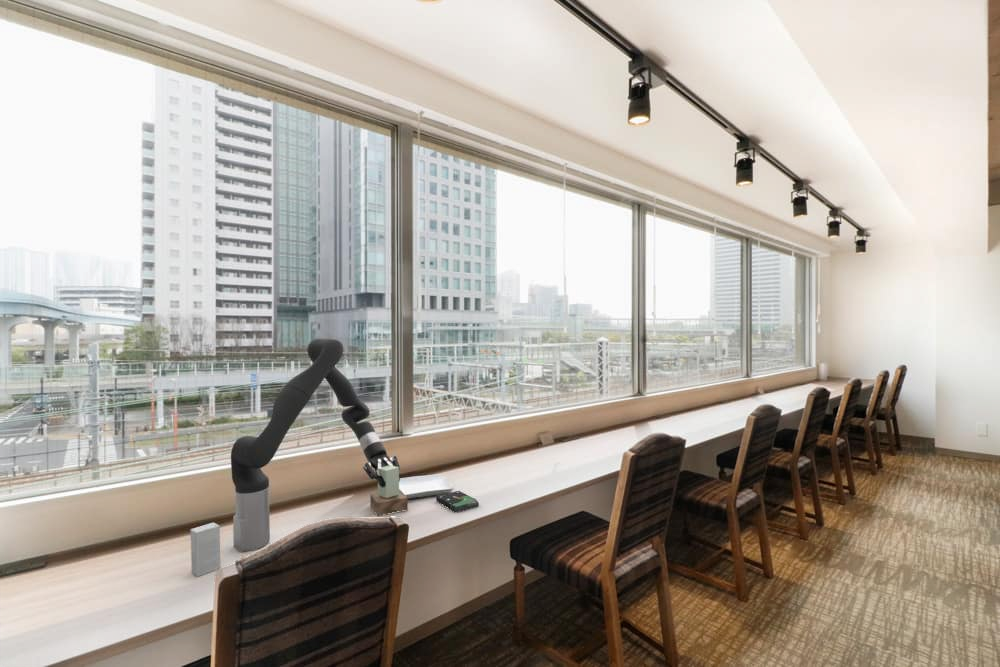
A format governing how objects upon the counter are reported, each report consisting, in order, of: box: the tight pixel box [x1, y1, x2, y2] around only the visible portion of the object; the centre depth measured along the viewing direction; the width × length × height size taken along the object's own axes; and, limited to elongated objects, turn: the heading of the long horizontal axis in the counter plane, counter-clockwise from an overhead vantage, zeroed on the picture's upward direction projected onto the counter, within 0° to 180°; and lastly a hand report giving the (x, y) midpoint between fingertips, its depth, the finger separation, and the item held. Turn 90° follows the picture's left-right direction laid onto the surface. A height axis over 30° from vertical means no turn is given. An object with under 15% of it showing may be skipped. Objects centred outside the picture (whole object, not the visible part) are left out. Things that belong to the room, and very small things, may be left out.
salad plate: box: [399, 473, 454, 499], centre depth 194 cm, size 21×21×3 cm
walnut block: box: [369, 489, 409, 517], centre depth 174 cm, size 11×11×5 cm
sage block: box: [377, 465, 400, 498], centre depth 174 cm, size 6×6×10 cm
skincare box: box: [190, 522, 222, 577], centre depth 130 cm, size 6×4×12 cm
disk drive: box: [435, 490, 480, 513], centre depth 178 cm, size 10×3×15 cm
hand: (391, 484), depth 173 cm, fingers closed on sage block, 5 cm apart
